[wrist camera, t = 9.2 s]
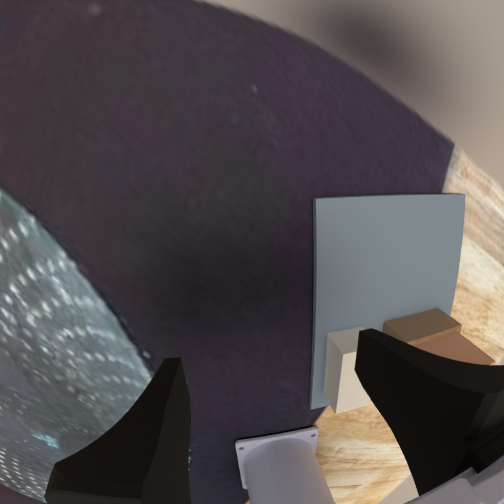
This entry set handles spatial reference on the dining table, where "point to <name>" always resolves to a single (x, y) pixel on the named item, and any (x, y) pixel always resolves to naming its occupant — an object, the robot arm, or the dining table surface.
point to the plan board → (379, 281)
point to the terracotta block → (456, 349)
